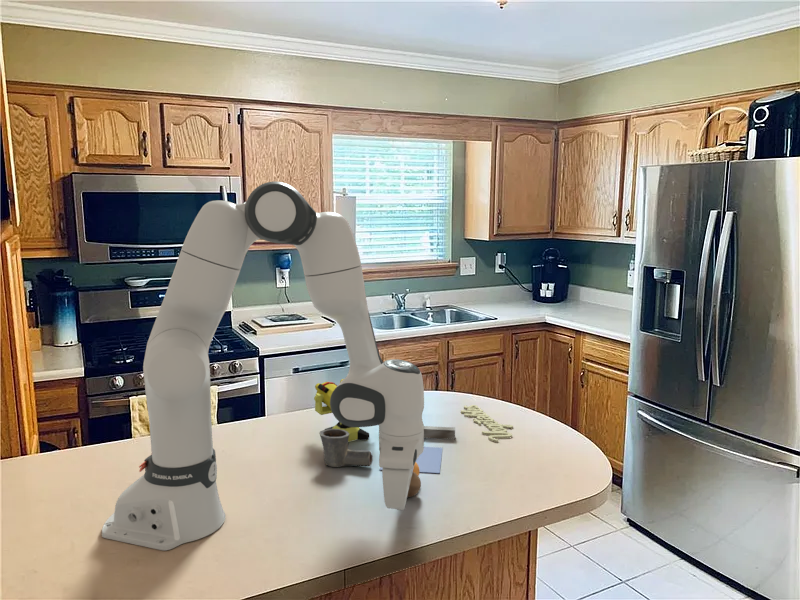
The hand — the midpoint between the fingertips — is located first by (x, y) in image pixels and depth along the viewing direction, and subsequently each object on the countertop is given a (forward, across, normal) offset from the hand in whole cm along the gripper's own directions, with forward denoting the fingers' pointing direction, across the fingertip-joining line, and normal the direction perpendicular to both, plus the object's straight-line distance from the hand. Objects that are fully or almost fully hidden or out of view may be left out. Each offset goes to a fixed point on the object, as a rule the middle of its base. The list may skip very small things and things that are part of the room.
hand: (401, 506), depth 122 cm
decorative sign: (+2, -52, +18) cm, 55 cm away
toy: (+2, -38, -21) cm, 44 cm away
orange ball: (-1, -14, 0) cm, 14 cm away
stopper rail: (+2, -40, -1) cm, 40 cm away
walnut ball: (-1, -8, 0) cm, 8 cm away
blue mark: (+2, -26, 0) cm, 26 cm away
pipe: (+2, -20, -16) cm, 26 cm away
